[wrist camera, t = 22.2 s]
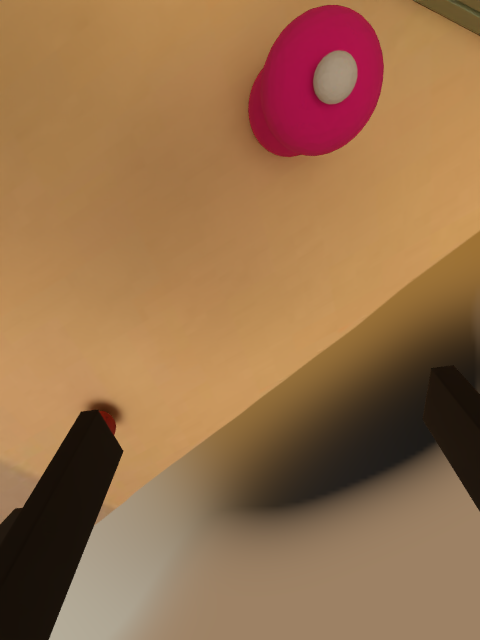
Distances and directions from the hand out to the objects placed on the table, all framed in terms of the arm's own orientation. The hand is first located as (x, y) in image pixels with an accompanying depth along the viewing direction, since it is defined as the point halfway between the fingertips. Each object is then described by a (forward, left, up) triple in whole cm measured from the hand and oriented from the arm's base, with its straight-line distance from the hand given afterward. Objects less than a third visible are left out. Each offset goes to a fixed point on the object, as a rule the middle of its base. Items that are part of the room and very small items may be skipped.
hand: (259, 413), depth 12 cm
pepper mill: (-7, +10, -27) cm, 30 cm away
